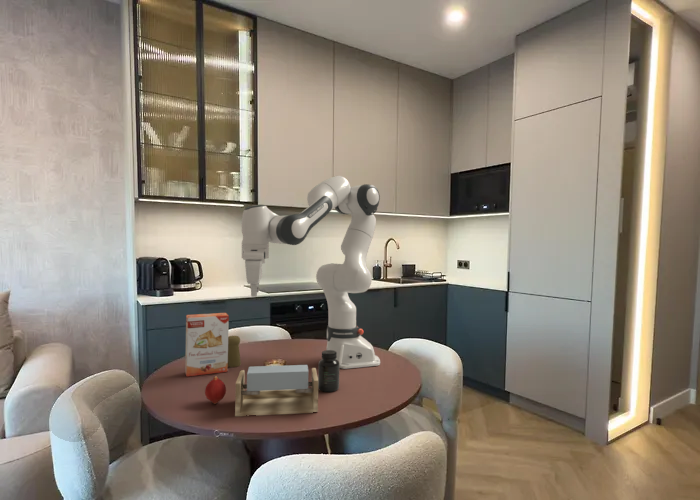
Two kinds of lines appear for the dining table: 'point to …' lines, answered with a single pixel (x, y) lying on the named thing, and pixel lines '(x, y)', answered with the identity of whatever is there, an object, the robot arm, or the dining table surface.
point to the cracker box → (206, 344)
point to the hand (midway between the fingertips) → (255, 294)
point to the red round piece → (215, 390)
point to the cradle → (275, 399)
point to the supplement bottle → (328, 372)
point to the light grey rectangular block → (277, 377)
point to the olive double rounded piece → (233, 351)
